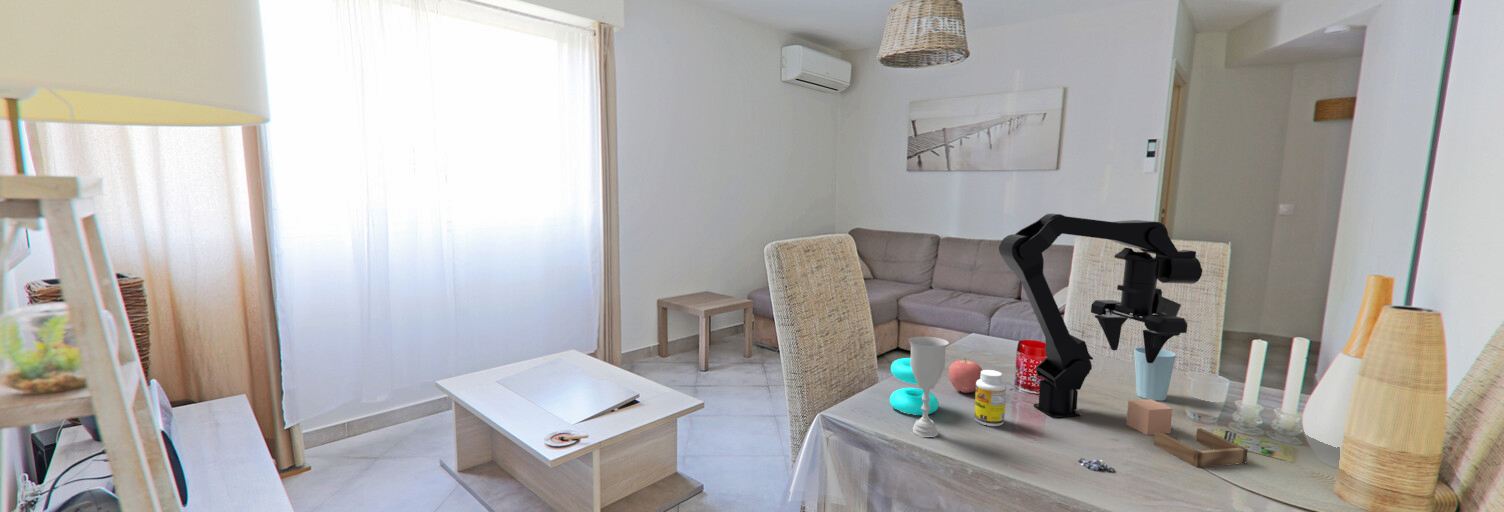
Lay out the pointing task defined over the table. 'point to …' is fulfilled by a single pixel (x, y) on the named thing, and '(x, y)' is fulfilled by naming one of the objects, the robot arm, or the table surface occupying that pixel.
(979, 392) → the supplement bottle
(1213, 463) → the frame
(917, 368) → the chalice
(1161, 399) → the cup
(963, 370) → the apple
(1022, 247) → the robot arm
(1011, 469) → the table surface
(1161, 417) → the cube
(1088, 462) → the metal chain
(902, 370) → the donuts
